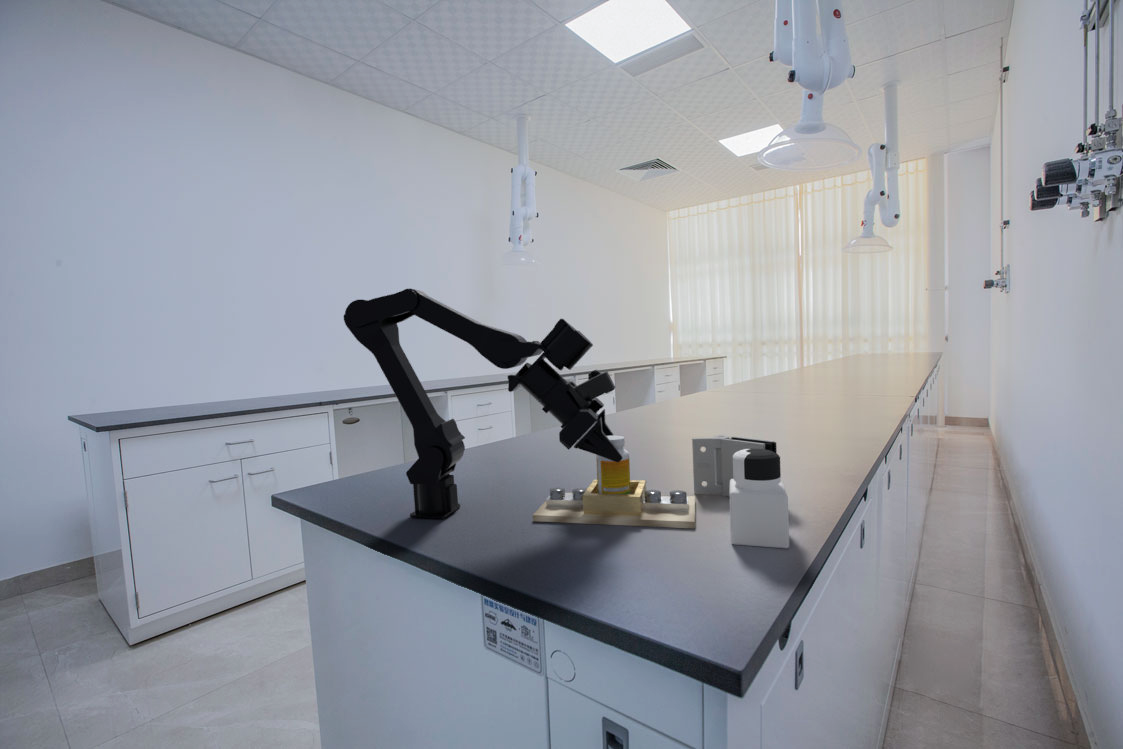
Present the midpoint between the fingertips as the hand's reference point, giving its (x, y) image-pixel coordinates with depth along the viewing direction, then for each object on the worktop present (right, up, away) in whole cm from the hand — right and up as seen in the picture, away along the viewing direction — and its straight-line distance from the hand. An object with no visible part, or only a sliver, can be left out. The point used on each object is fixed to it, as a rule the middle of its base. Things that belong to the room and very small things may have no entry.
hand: (621, 455), depth 81 cm
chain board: (-1, -9, +1) cm, 9 cm away
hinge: (+20, -8, +5) cm, 22 cm away
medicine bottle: (+17, -9, -13) cm, 23 cm away
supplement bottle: (-1, -7, +1) cm, 7 cm away
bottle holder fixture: (-1, -9, +1) cm, 9 cm away
